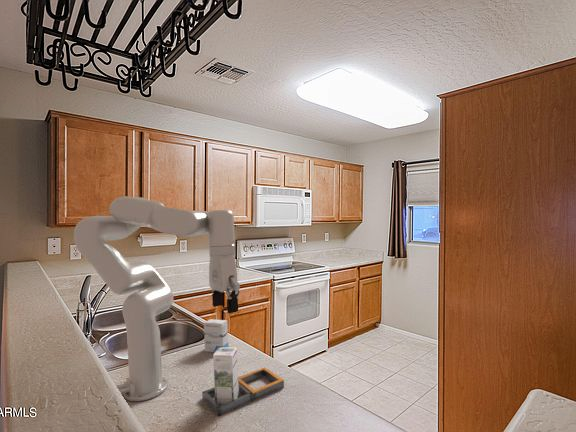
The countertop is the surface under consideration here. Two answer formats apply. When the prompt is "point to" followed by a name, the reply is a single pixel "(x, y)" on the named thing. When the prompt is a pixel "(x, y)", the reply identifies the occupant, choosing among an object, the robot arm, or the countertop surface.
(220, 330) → the ink box
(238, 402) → the grey flat frame
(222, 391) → the syrup box
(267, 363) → the countertop surface
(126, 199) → the robot arm
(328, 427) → the countertop surface
